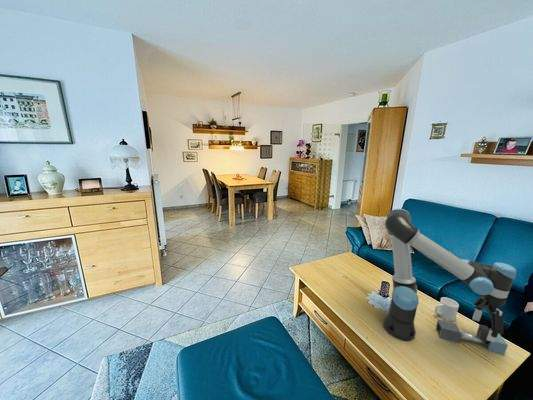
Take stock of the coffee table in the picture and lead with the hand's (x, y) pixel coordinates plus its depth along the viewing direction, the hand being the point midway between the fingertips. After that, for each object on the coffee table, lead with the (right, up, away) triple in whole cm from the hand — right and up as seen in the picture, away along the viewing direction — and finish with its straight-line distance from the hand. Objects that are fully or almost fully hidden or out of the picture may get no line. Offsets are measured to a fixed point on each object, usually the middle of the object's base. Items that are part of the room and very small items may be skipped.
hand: (482, 329), depth 111 cm
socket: (+5, -9, 0) cm, 10 cm away
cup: (-4, -4, +20) cm, 21 cm away
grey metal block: (-13, -7, +7) cm, 16 cm away
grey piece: (-3, -7, +3) cm, 8 cm away
